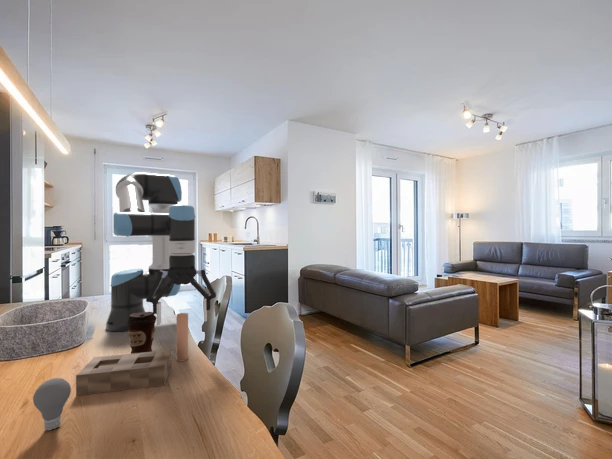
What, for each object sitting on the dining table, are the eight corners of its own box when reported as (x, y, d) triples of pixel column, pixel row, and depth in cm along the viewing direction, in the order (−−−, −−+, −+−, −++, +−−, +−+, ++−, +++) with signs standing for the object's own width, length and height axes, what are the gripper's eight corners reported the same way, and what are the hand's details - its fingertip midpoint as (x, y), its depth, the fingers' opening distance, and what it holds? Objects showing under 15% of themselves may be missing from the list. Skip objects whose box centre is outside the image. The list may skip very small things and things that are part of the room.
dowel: (177, 357, 98) (177, 313, 98) (188, 356, 99) (188, 312, 99) (175, 361, 95) (175, 316, 95) (187, 360, 96) (187, 315, 96)
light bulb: (48, 419, 66) (47, 373, 66) (77, 418, 67) (77, 372, 67) (25, 438, 60) (24, 387, 60) (57, 437, 61) (57, 386, 61)
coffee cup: (143, 360, 96) (142, 318, 96) (120, 357, 98) (120, 316, 98) (161, 349, 105) (161, 311, 105) (140, 347, 106) (140, 309, 106)
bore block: (94, 375, 86) (94, 357, 86) (171, 366, 92) (171, 349, 91) (76, 395, 76) (76, 375, 76) (164, 384, 81) (164, 365, 81)
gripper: (134, 256, 90) (135, 329, 90) (223, 254, 96) (223, 322, 96) (141, 254, 97) (141, 322, 97) (223, 252, 104) (223, 316, 103)
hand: (182, 322), depth 97 cm, fingers open, 13 cm apart
